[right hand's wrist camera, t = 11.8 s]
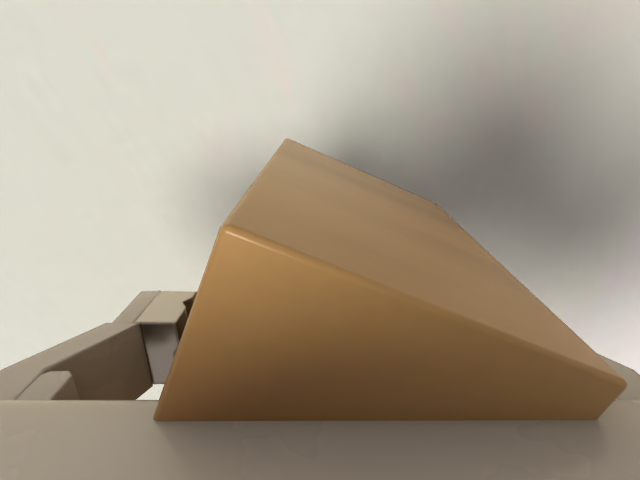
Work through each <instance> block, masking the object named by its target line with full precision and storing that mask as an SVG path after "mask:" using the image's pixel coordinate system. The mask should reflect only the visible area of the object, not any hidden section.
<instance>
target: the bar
mask: <svg viewBox="0 0 640 480" xmlns="http://www.w3.org/2000/svg"><path fill="white" fill-rule="evenodd" d="M626 387H627V383H626V381H625V380H624V379H623V377H621V376H620V375H619V374H618V373H617V372H616V371H615V370H614V369H613V368H612V367H611V366H610V365H609V364H607V363H606V362H605V361H604V360H603V359H602V358H601V357H600V356H599V355H598V354H597V353H596V352H595V351H594V350H592V349H591V348H590V347H589V346H588V345H587V344H586V343H585V342H584V341H583V340H582V339H581V338H580V337H579V336H577V335H576V334H575V333H574V332H573V331H572V330H571V329H570V328H569V327H568V326H567V325H566V324H565V323H564V322H562V321H561V320H560V319H559V318H558V317H557V316H556V315H555V314H554V313H553V312H552V311H551V310H550V309H548V308H547V307H546V306H545V305H544V304H543V303H542V302H541V301H540V300H539V299H538V298H537V297H536V296H535V295H533V294H532V293H531V292H530V291H529V290H528V289H527V288H526V287H525V286H524V285H523V284H522V283H521V282H520V281H518V280H517V279H516V278H515V277H514V276H513V275H512V274H511V273H510V272H509V271H508V270H507V269H506V268H504V267H503V266H502V265H501V264H500V263H499V262H498V261H497V260H496V259H495V258H494V257H493V256H492V255H491V254H489V253H488V252H487V251H486V250H485V249H484V248H483V247H482V246H481V245H480V244H479V243H478V242H477V241H476V240H474V239H473V238H472V237H471V236H470V235H469V234H468V233H467V232H466V231H465V230H464V229H463V228H462V227H461V226H459V225H458V224H457V223H456V222H455V221H454V220H453V219H452V218H451V217H450V216H449V215H448V214H447V213H445V212H444V211H443V210H442V209H441V208H440V207H439V206H438V205H437V204H435V203H433V202H431V201H428V200H426V199H424V198H422V197H419V196H417V195H415V194H412V193H410V192H408V191H406V190H403V189H401V188H399V187H397V186H394V185H392V184H390V183H388V182H385V181H383V180H381V179H378V178H376V177H374V176H372V175H369V174H367V173H365V172H363V171H360V170H358V169H356V168H354V167H351V166H349V165H347V164H345V163H342V162H340V161H338V160H335V159H333V158H331V157H329V156H326V155H324V154H322V153H320V152H317V151H315V150H313V149H311V148H308V147H306V146H304V145H302V144H299V143H297V142H295V141H292V140H290V139H285V140H284V142H283V143H282V144H281V146H280V147H279V149H278V150H277V151H276V153H275V154H274V155H273V157H272V158H271V159H270V161H269V162H268V163H267V165H266V166H265V168H264V169H263V170H262V172H261V173H260V174H259V176H258V177H257V178H256V180H255V181H254V182H253V184H252V185H251V187H250V188H249V189H248V191H247V192H246V193H245V195H244V196H243V197H242V199H241V200H240V201H239V203H238V204H237V206H236V207H235V208H234V210H233V211H232V212H231V214H230V215H229V216H228V218H227V219H226V220H225V222H224V223H223V225H222V226H221V227H220V230H219V232H218V235H217V238H216V241H215V244H214V247H213V249H212V252H211V255H210V258H209V261H208V263H207V266H206V269H205V272H204V275H203V278H202V280H201V283H200V286H199V289H198V292H197V294H196V297H195V300H194V303H193V306H192V308H191V311H190V314H189V317H188V320H187V323H186V325H185V328H184V331H183V334H182V337H181V339H180V342H179V345H178V348H177V351H176V354H175V356H174V359H173V362H172V365H171V368H170V370H169V373H168V376H167V379H166V382H165V385H164V387H163V390H162V393H161V396H160V399H159V401H158V404H157V407H156V410H155V413H154V416H153V420H156V421H467V420H595V419H598V418H599V416H600V415H601V414H602V413H603V412H604V411H605V410H606V409H607V408H608V407H609V406H610V405H611V404H612V403H613V402H614V401H615V400H616V399H617V398H618V397H619V395H620V394H621V393H622V392H623V391H624V390H625V389H626Z"/></svg>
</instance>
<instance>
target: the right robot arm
mask: <svg viewBox="0 0 640 480" xmlns="http://www.w3.org/2000/svg"><path fill="white" fill-rule="evenodd" d="M196 294H197V292H184V291H143V292H140V293H139V294H138V296H137V297H136V298H135V299H134V300H133V301H132V302H131V303H130V304H129V305H128V306H127V308H126V309H125V310H124V311H123V312H122V313H121V314H120V315H119V316H118V317H117V318H116V320H115V321H114V322H113V323H105V324H103V325H101V326H99V327H96V328H94V329H92V330H90V331H87V332H85V333H83V334H81V335H78V336H76V337H74V338H72V339H69V340H67V341H65V342H63V343H60V344H58V345H56V346H54V347H51V348H49V349H47V350H45V351H42V352H40V353H38V354H36V355H33V356H31V357H29V358H27V359H25V360H22V361H20V362H18V363H16V364H13V365H11V366H9V367H7V368H4V369H2V370H1V371H0V480H640V375H639V374H638V373H637V372H635V371H634V370H633V369H630V368H628V367H626V366H624V365H621V364H619V363H617V362H615V361H613V360H610V359H608V358H606V357H604V356H602V355H599V354H598V355H599V356H600V357H601V358H602V359H603V360H604V361H605V362H606V363H607V364H609V365H610V366H611V367H612V368H613V369H614V370H615V371H616V372H617V373H618V374H619V375H620V376H621V377H623V379H624V380H625V381H626V383H627V387H626V389H625V390H624V391H623V392H622V393H621V394H620V395H619V397H618V398H617V399H616V400H615V401H614V402H613V403H612V404H611V405H610V406H609V407H608V408H607V409H606V410H605V411H604V412H603V413H602V414H601V415H600V416H599V418H598V419H595V420H467V421H156V420H153V416H154V413H155V410H156V407H157V404H158V401H159V400H136V399H137V398H138V397H140V396H141V395H142V394H143V393H145V392H146V391H147V390H148V389H149V388H151V387H152V386H153V384H165V382H166V379H167V376H168V373H169V370H170V368H171V365H172V362H173V359H174V356H175V354H176V351H177V348H178V345H179V342H180V339H181V337H182V334H183V331H184V328H185V325H186V323H187V320H188V317H189V314H190V311H191V308H192V306H193V303H194V300H195V297H196Z"/></svg>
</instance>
